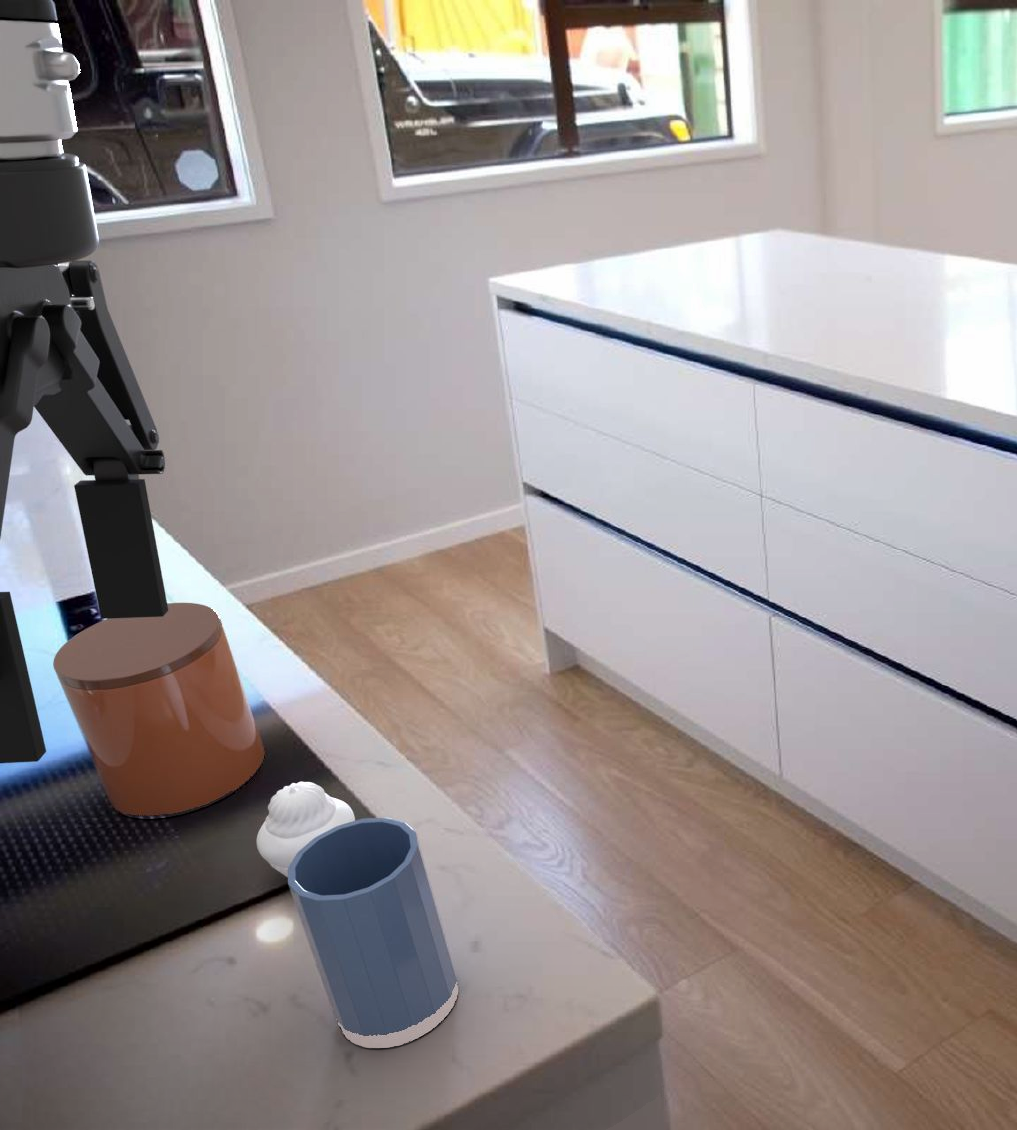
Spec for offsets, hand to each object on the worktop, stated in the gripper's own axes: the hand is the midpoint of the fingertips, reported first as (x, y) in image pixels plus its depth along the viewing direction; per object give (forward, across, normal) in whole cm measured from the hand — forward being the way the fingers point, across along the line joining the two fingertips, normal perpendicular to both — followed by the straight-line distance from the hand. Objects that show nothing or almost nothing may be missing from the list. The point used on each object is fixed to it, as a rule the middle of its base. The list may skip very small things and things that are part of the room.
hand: (76, 679), depth 54 cm
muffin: (+27, +25, -1) cm, 37 cm away
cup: (+27, +11, -9) cm, 30 cm away
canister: (+27, +39, +12) cm, 49 cm away
